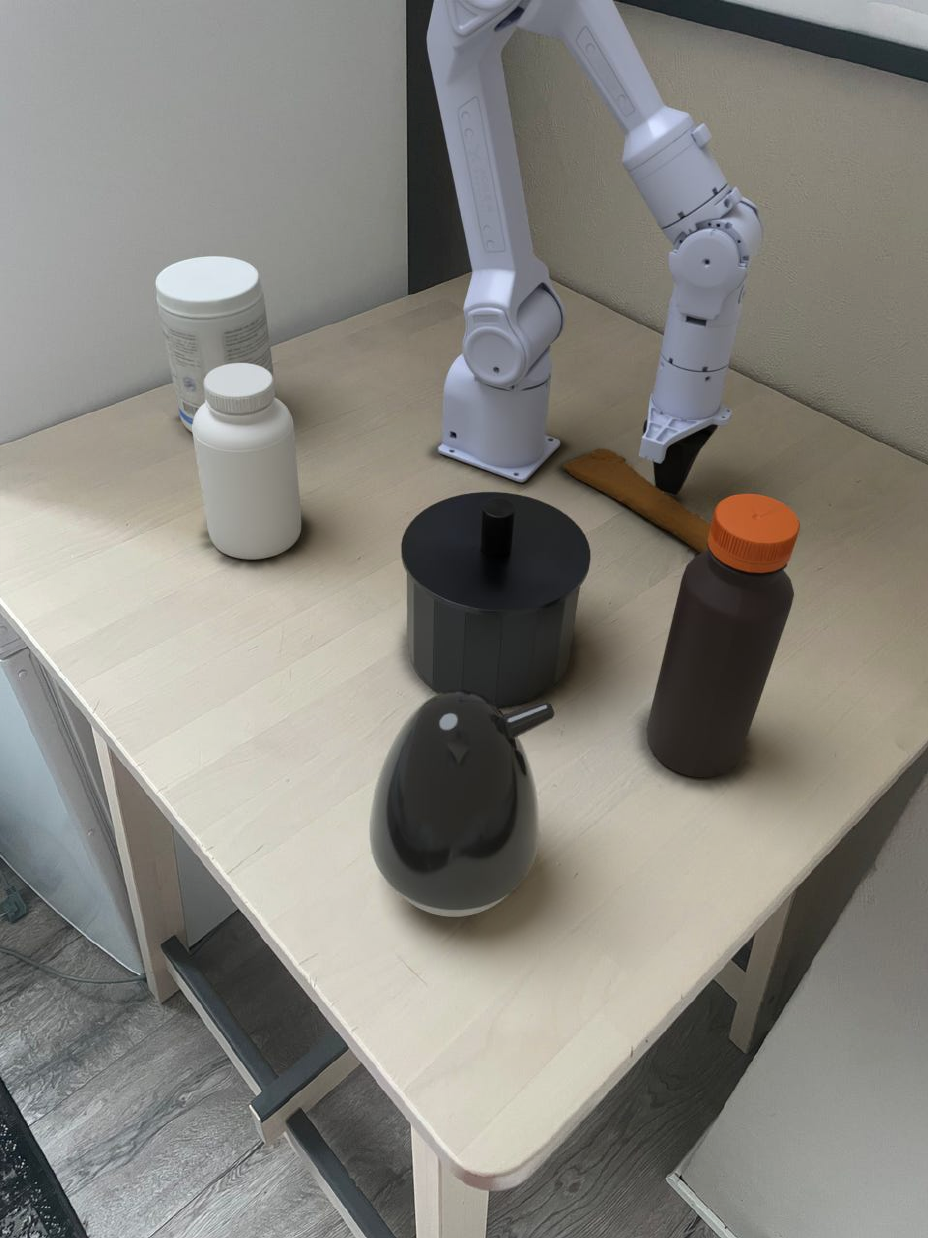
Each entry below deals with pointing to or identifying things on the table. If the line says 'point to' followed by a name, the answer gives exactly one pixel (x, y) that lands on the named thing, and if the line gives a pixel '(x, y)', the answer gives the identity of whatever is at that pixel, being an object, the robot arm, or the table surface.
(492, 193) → the robot arm
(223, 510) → the pill bottle
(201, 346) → the supplement tub
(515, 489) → the table surface
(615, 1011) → the table surface
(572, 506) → the table surface
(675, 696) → the bottle
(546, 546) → the pot lid
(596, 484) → the primitive tool
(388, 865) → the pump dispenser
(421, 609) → the pot
